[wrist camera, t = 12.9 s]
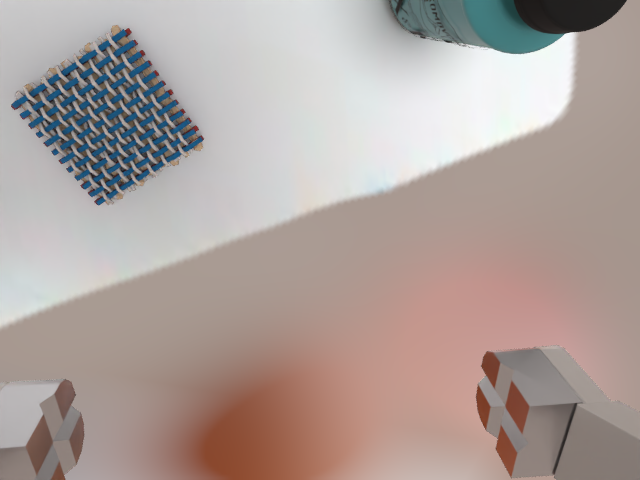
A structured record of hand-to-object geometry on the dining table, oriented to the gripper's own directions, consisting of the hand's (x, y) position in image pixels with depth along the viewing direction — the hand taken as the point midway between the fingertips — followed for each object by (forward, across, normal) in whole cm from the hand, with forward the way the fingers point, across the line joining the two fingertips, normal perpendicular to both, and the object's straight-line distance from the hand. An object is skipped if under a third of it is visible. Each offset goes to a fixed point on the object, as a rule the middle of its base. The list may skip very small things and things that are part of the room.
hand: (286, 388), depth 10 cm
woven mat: (+32, +12, +1) cm, 34 cm away
